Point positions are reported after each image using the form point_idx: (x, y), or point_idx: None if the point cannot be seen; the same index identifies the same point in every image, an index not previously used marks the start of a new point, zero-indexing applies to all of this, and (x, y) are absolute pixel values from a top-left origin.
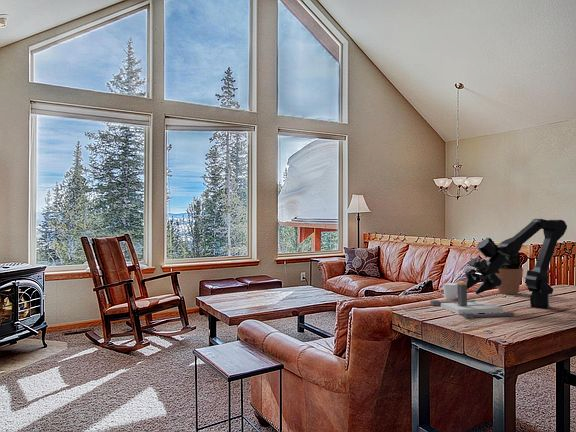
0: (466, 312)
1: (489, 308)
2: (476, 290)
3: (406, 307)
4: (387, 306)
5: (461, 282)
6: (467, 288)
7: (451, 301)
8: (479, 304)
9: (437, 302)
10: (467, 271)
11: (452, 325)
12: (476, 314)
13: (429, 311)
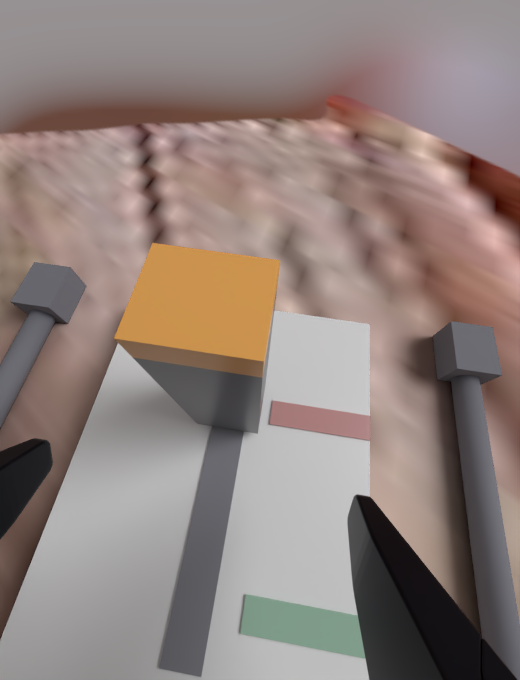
0: (54, 282)
1: (31, 564)
2: (16, 456)
3: (406, 196)
4: (442, 148)
5: (164, 253)
6: (355, 585)
7: (485, 500)
8: (205, 615)
9: (448, 356)
10: None
11: (16, 167)
12: (16, 336)
13: (285, 232)
